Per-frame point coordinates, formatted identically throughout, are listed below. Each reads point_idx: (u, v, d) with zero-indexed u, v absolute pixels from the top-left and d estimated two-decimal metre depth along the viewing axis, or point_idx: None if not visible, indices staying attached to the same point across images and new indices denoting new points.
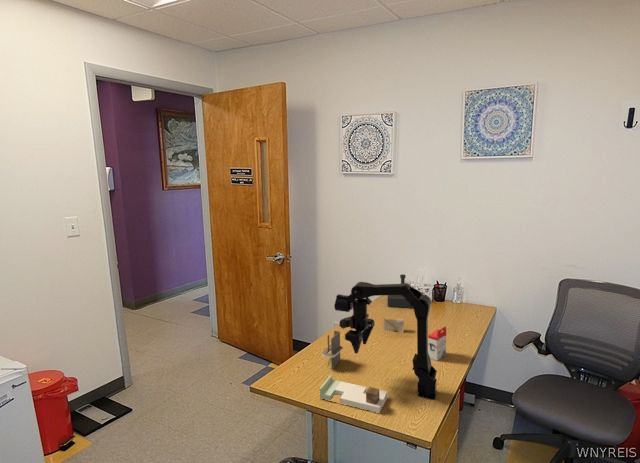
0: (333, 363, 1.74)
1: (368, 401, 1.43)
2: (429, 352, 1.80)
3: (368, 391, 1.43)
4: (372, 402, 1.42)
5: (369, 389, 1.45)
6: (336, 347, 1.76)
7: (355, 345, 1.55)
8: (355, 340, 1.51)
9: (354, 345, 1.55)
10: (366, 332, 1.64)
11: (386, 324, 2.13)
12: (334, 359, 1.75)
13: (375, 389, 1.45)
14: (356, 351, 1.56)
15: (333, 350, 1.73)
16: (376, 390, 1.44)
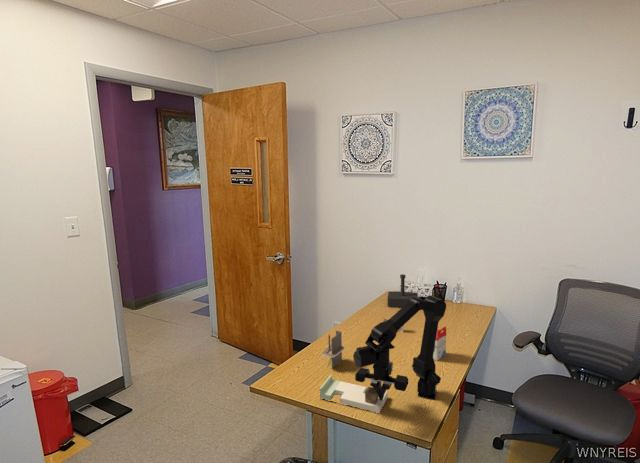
0: (333, 363, 1.74)
1: (367, 401, 1.43)
2: None
3: (367, 391, 1.44)
4: (371, 402, 1.42)
5: (368, 389, 1.45)
6: (337, 347, 1.76)
7: None
8: None
9: None
10: None
11: None
12: (335, 359, 1.75)
13: None
14: None
15: (334, 350, 1.73)
16: None
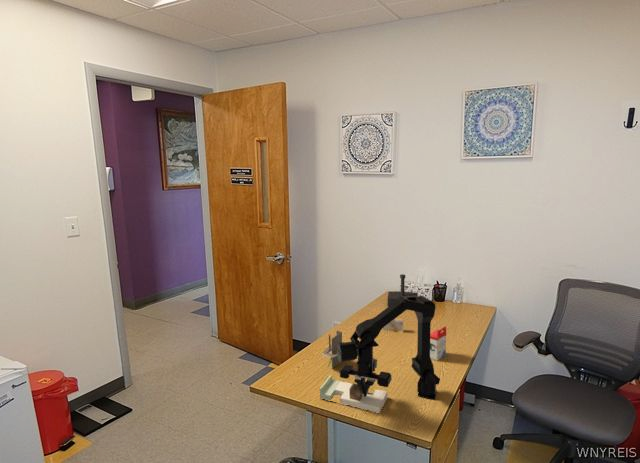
0: (334, 363, 1.74)
1: (351, 397, 1.46)
2: None
3: (351, 387, 1.46)
4: (355, 398, 1.45)
5: (353, 385, 1.47)
6: None
7: None
8: None
9: None
10: None
11: None
12: (335, 359, 1.75)
13: None
14: None
15: (334, 350, 1.73)
16: None
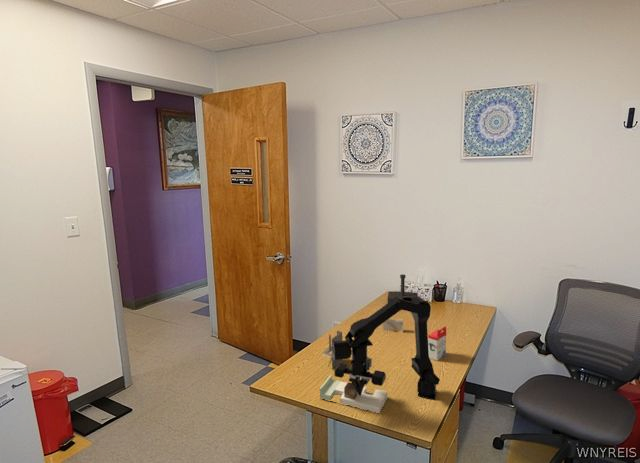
0: (334, 363, 1.74)
1: (346, 396, 1.46)
2: (429, 352, 1.80)
3: (346, 386, 1.47)
4: (350, 397, 1.46)
5: (347, 384, 1.48)
6: None
7: None
8: None
9: None
10: None
11: (385, 324, 2.13)
12: None
13: None
14: None
15: None
16: None
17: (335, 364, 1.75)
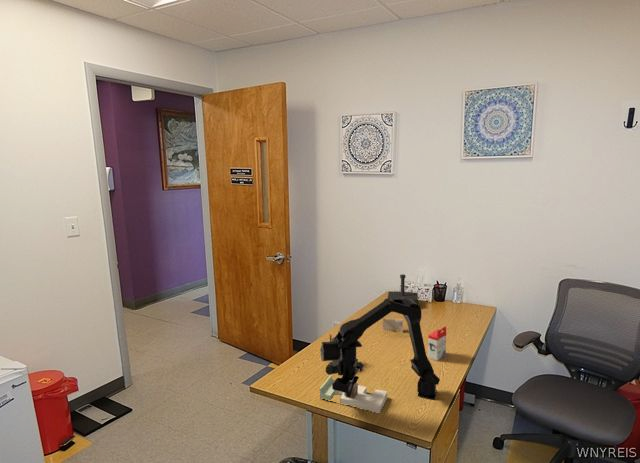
0: None
1: None
2: (429, 352, 1.80)
3: None
4: None
5: None
6: None
7: None
8: (344, 390, 1.35)
9: None
10: None
11: (385, 324, 2.13)
12: None
13: None
14: (348, 395, 1.44)
15: None
16: None
17: None
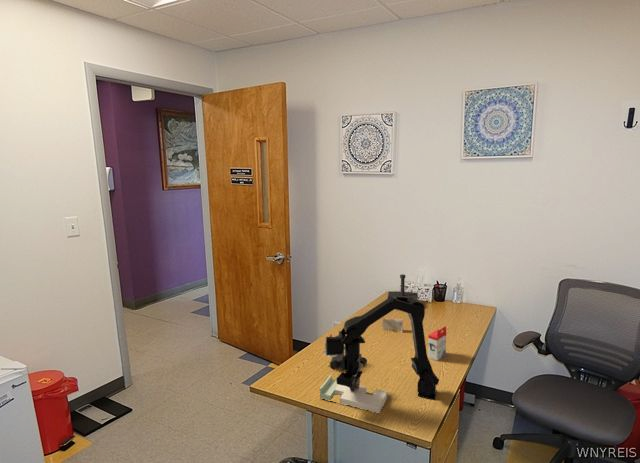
0: None
1: None
2: (429, 352, 1.80)
3: None
4: None
5: None
6: None
7: None
8: (348, 385, 1.39)
9: None
10: None
11: (385, 324, 2.13)
12: None
13: None
14: (352, 389, 1.48)
15: None
16: None
17: None
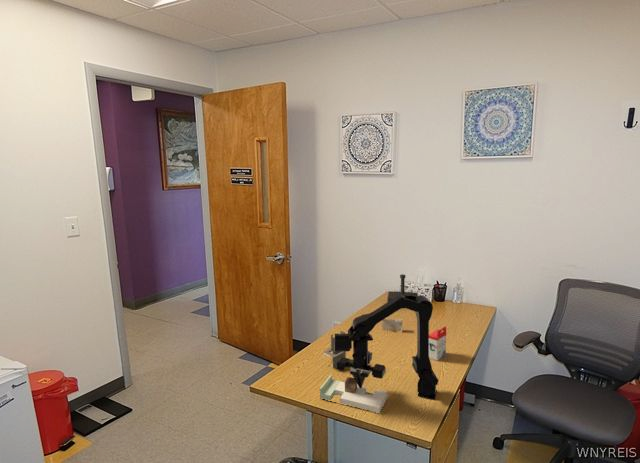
0: (335, 363, 1.74)
1: (347, 390, 1.50)
2: (429, 352, 1.80)
3: (346, 381, 1.51)
4: (351, 391, 1.50)
5: (347, 379, 1.52)
6: None
7: None
8: None
9: None
10: None
11: (385, 324, 2.13)
12: (336, 359, 1.75)
13: (353, 379, 1.52)
14: None
15: None
16: (354, 379, 1.51)
17: None
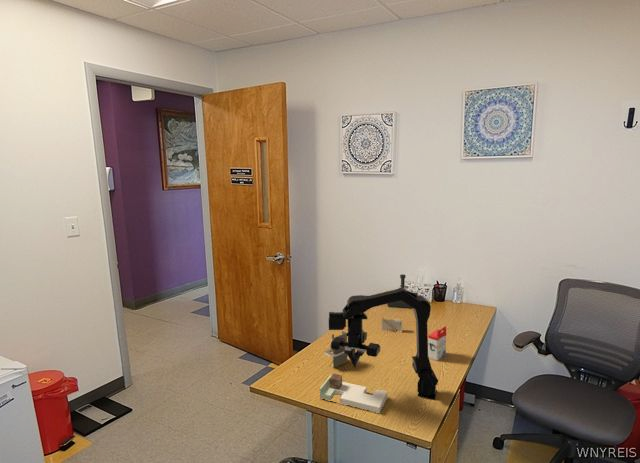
0: (335, 363, 1.74)
1: (331, 386, 1.53)
2: (429, 352, 1.80)
3: (331, 377, 1.54)
4: (335, 387, 1.53)
5: (332, 375, 1.55)
6: (341, 347, 1.75)
7: None
8: None
9: None
10: None
11: (384, 324, 2.13)
12: (337, 359, 1.75)
13: (338, 375, 1.55)
14: None
15: (336, 350, 1.73)
16: (339, 376, 1.54)
17: (337, 364, 1.75)
